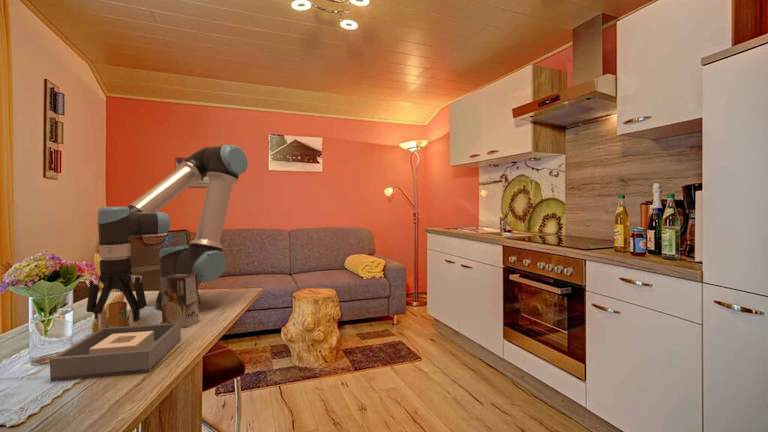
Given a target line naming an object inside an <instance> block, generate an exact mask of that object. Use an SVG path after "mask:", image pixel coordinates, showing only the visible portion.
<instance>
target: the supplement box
mask: <svg viewBox="0 0 768 432" xmlns="http://www.w3.org/2000/svg"><path fill="white" fill-rule="evenodd" d="M127 305H128V301H121V300H117V301H115V302H111V303H108V328H111V327H126V326H128V324H127V322H128V321H127V320H128V319H127V318H128V317H127V316H128V313H127V309H128V307H127Z"/></svg>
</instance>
